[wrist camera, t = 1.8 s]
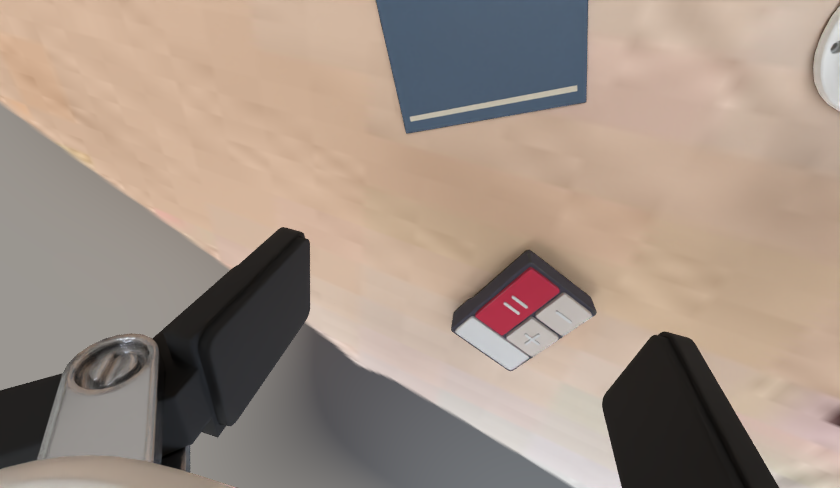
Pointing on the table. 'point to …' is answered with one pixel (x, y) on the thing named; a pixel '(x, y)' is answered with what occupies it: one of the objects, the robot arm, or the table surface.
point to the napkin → (484, 57)
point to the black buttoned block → (522, 312)
